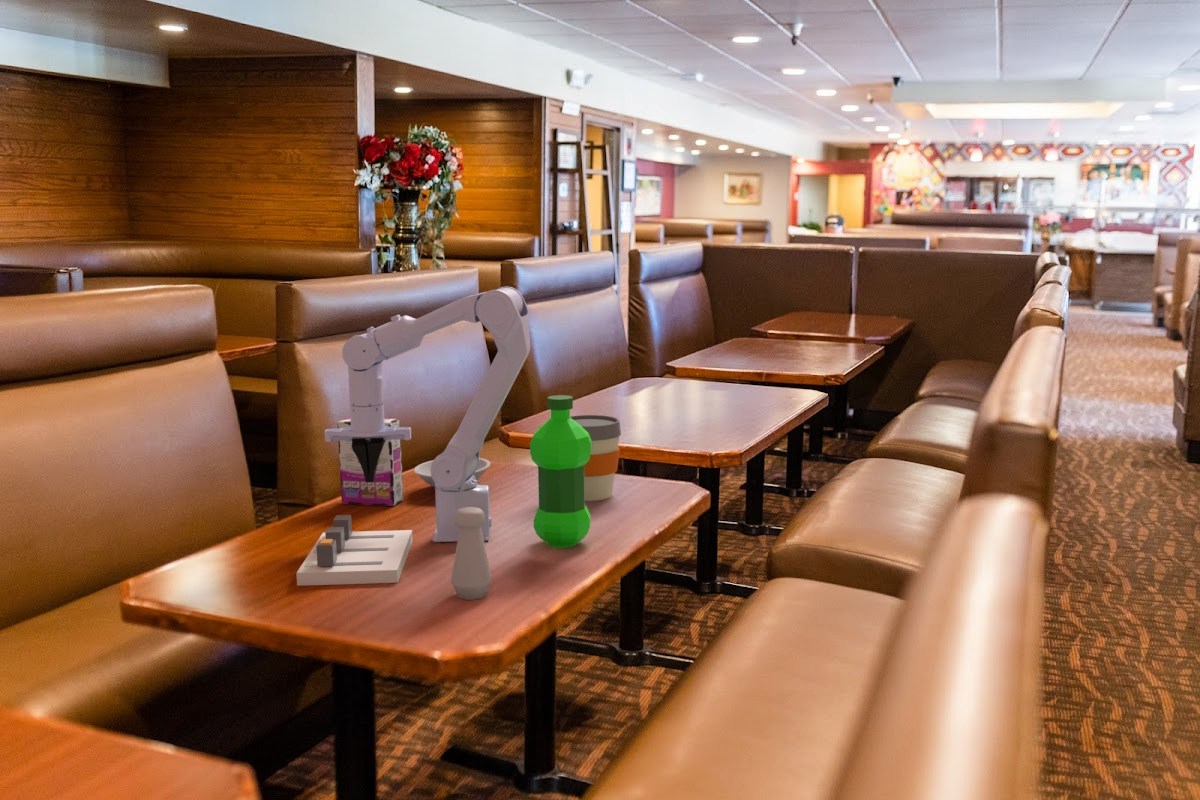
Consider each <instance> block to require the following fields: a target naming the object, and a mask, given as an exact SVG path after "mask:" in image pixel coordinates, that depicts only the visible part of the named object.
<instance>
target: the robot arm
mask: <svg viewBox="0 0 1200 800" xmlns="http://www.w3.org/2000/svg"><path fill="white" fill-rule="evenodd" d="M529 315H530V309H529V307H528V305H527V303H526V301H525V298H524V297H523V294H521V291H519V290H518V289H517V288H514V287H512V286H501V287H498V288H497V289H491V290H488V291H483V292H480V293H477V294H476V293H475V294H472V295H468V296H464V297H461V298H459V299H457V300H455V301H453V302H451V303H448V304H446V305H443V306H442V307H440V308H438V309H435V310H432V312H429V313H427V314H424V315H422V316H420V317H418V318H414V317H412V316H409V315H406V314H405V315H403V316H401V315H400V314H396V315H394V316H391V317H390V320H391V321H389V322H386V323H384V324H382V325H379V326H377V327H374V326H371V327H368V328H367V329H366V333H363V334H356V335H353V336H352V337H351V338H349V339H348V340H346V341H345V343H344V345H343V346H342V350H341V351H342V352H341V353H342V354H341V355H342V359H343V361H344V363H345V364H346V365H347V369H348V370H347V371H348V373H347V374H348V379H347V380H348V394H349V395H348V399H349V412H350V413H349V414H350V416H349V418H351V427H348V428H338V427H337V428H326V429H325V430H324V442H325V443H330V442H338V441H352V445H351V447H352V449H353V451H354V453H355V454H356V456H357V458H358V460H359V462H360V464H361V467H362V470H363V473H364V476H365V482H374V481H375V475H376V468H377V464H378V460H379V457H380V454H381V451H382V448H383V446H384V443H385V441H386V440H400V439H401V440H404V441H410V440H411V439H412V427H410V426H400V427H389V426H385V421H384V418H385V403H384V379H383V369H382V368H383V367H382V366H383V365H382V363H383V361H384V360H385V361H387V360H388V361H389V360H391V359H393V358H395V357H398V356H399V355H402V354H404V353H407V352H409V351H411V350H414V349H417V348H419V347H420V346H421V344H422V341H423V339H424V337H425V336H426V335H428V334H429V335H430V334H431V333H434V332H436V331H439V330H442V329H444V328H446V327H447V328H448V327H449V326H452V325H454V324H456V323H459V322H462V321H465V322H468V323H473V324H476V323H479V322H480V323H481V324H482V325H483V326H484V327H485V328H486V330H487V331H488V332H489V333H490V334H491V336H492V339H493V340H494V344H495V346H496V348H497V353H496V355H495V357H494V358H493V361H492V363H491V364H490V366H489V368H488V370H487V371H486V374H485V376H484V377H483V380H482V382H481V383H480V385H479V388H478V389H477V392H476V394H475V396H474V397H473V399H472V401H471V403H470V405H469V407H468V408H467V411H466V413H465V415H464V417H463V418H462V421H461V423H460V425H459V427H458V429H457V430H456V432H455V433H454V435H453V436H452V438H451V439H450V440H449V442H448V444H447V445H446V446H445V447H446V448H445V449H444V450H443V451H442V453H440V454H438V455H437V456H436V457H435V458H434V459H432V460H433V462H432V464H431V469H430V470H431V476H432V479H433V480H434V482H435V487H434V490H435V491H434V492H435V493H434V494H435V521H436V527H435V531H434V534H433V537H432V542H433V543H443V542H444V543H445V542H449V543H451V542H458V536H459V530H460V527H459V526H457V525H456V524H455V513H456V512H457V511H458V510H459V509H461V508H465V507H476V508H480V509H481V510H482V511H483V512H484V515H485V522H484V524H483V525H481V529H482V534H483V539H484V542H486V541H489V540H490V533H491V528H492V522H493V521H492V516H491V515H490V514H491V513H490V512H491V511H490V510H491V509H490V505H491V504H490V486H489V485H487V484H478V480H476V478H475V476H474V474H473V473H475V471H476V470H477V468H478V466H479V458H480V454H481V451H482V449H483V447H484V443H485V439H486V437H487V435H488V433H489V432H490V429H491V428H492V426H493V424H494V421H495V420H496V417H497V416H498V413H499V412H500V410H501V408H502V406H503V404H504V402H505V400H506V398H507V396H508V394H510V393H509V392H510V391H511V389H512V387H513V385H514V383H515V381H516V380H517V377H518V375H519V373H520V372H521V370H522V368H523V366H524V363H525V362H526V360H527V358H528V356H529V354H530V352H531V338H530V337H531V336H530V322H529V317H530V316H529ZM374 436H378V437H374Z"/></svg>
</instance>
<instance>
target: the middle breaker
mask: <svg viewBox="0 0 1200 800" xmlns="http://www.w3.org/2000/svg"><path fill="white" fill-rule="evenodd" d="M325 535H326V539H333V540H336V551H337V552H342V550H343V549H344V547H345V537H344V527H334V526H328V528H327V530H325Z"/></svg>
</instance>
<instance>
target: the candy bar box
mask: <svg viewBox="0 0 1200 800" xmlns="http://www.w3.org/2000/svg"><path fill="white" fill-rule="evenodd" d="M384 421H385V426H389V427H401V419H400V418H386V417H384ZM348 427H351V418H350V417H346V418H344V419H341V420H339V421H337V428H348ZM374 437H378V436H374ZM337 442H338V455H339V457H338V458H339V459H338V460H339V474H340V475H339V476H340V494H341V497H340V499H341V504H342V503H343V505H354V504H362V505H361V506H380V507H395V506H397V505H398V504H400V503H402V502H403V501H404V481H403V465H402V464H403V462H402V461H403V458H402V439H400V440H386V441H385V443H384V446H383V448H382V451H381V454H380V457H379V460H378V464H377V468H376V475H375V481H374V482H365V476H364V473H363V470H362V467H361V464H360V462H359V460H358V458H357V456H356V454H355V453H354V451H353V449H352V447H351V445H352V441H337Z"/></svg>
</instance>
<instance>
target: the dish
mask: <svg viewBox="0 0 1200 800" xmlns="http://www.w3.org/2000/svg"><path fill="white" fill-rule="evenodd" d="M433 460H434V459H432V460H428V461H426V462H422V463H420V464H418V465H417V466H414V469H413V472H414V474H415V475H418V476H419V477H420V478H421V479H422V480H423V481H424V482H425V483H426V484H427V485H429V486H431V487H434V488H435V482H434V480H433V479H432V476H431V470H430V469H431V464H432V462H433ZM490 466H491V462H490V460H488V459H486V458H482V457H479V466H478V468H477V470H476V471H475V473H473V474H474V476H475V478H476V481H478V480H479V479H480V478H481V477H482V476H483V474H484V473H485V471H486V470H487V469H489V468H490Z"/></svg>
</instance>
